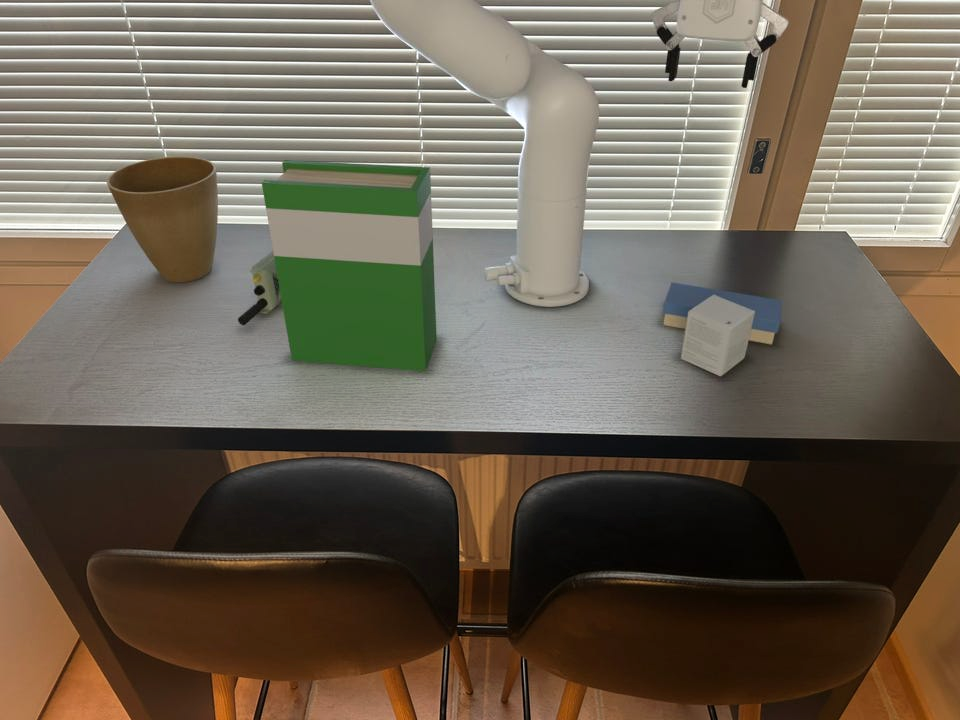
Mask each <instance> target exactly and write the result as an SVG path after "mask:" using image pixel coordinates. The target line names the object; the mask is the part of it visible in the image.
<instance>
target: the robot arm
mask: <svg viewBox="0 0 960 720" xmlns="http://www.w3.org/2000/svg"><path fill="white" fill-rule="evenodd" d="M369 1H370V4H371V6H372V8H373V10H374V12H375V14H376V15H377V18H379V19H380V21H381V22H382V24H383V25H384V26H385V27H386V28H387V29H388V30H389V31H390V32H391V33H392V34H393V35H394V36H395V37H397V39H399V40H401V42H403V43H405V45H407V46H408V47H410V48H412V49H413V50H414V51H415V52H418V54H420V55H421V56H423V57H424V58H425V59H426V60H428V61H429V62H430V63H431V64H433V65H435V66H436V67H437V68H439V69H440V70H442V71H443V72H445V73H447V74H448V75H449V76H450V77H452V79H454V80H455V81H456V82H457V83H458V84H459V85H461V86H462V87H463V88H464V89H465V90H467V91H468V92H470V93H472V95H473V94H474V95H476V96H477V97H480V98H484V99H486V100H487V101H489V102H490V103H491V104H493V105H495V106H496V107H498V108H499V109H501V110H502V111H504V112H505V113H507V115H509V116H510V117H512V118H513V119H514V120H516V121H517V123H519V124H520V126H522V127H523V128H524V140H523V145H522V149H521V153H520V156H519V163H518V173H517V209H516V210H517V211H516V212H517V213H516V214H517V216H516V219H517V220H516V243H515V244H516V246H515V248H516V249H515V254H514V255H510V256H509V262H506V263H504V264H503V265H501V266H490V267H485V268H483V277H484V280H485V282H489V281H497V284H498V286H499V287H504V288H505V291H506V293H508V295H510V296H511V297H512V298H513V299H515V300H517V301H519V302H521V303H524V304H528V305H531V306H537V307H545V308H554V307H555V308H556V307H563V306H564V307H565V306H568V305H573V304H575V303H577V302H579V301H581V300H582V299H583V298H585V296H587V295H588V292H589V291H590V290H589V289H590V280H589V278H588V276H587V275H586V273H584V272H583V271H582V270H581V263H582V261H581V260H582V250H583V239H584V226H585V214H586V203H587V202H586V201H587V191H588V189H587V187H588V177H589V176H588V175H589V167H590V161H591V154H592V149H593V145H594V141H595V137H596V135H597V134H596V133H597V130H598V127H599V126H598V125H599V121H600V120H599V119H600V104H599V99H598V96H597V93H596V91H595V89H594V88H593V85H591V83H590V82H589V81H588V80H587V78H586V77H584V76H583V75H582V74H580V73H579V72H578V71H576V70H574V69H573V68H572V67H570V66H568V65H567V64H565V63H562V62H561V61H560V60H558V59H556V58H555V57H553V56H552V55H550V54H549V53H548V52H546V51H544V50H543V49H541V48H540V47H538V46H537V45H536V44H535V43H534V42H532V41H531V40H530V39H528V38H527V37H526V36H524V35H523V34H522V33H521V32H520V31H519V30H518V29H517V28H516V27H515V26H514V25H513V24H512V23H510V22H509V21H508V20H506V19H505V18H503V17H502V16H500V15H498V14H496V13H495V12H494V11H492V10H490V9H487V8H485V7H484V6H482V5H481V4H479V3H478V2H477V1H475V0H369ZM676 13H677V17H676V32H674V34H673V33H672V31H671V30H670V29H669V27H668V26H667V24H666V21H665V18H666V17H669V16H671V15H673V14H676ZM650 17H651V20H652V23H653V26H654V29H655V31H656V35H657V36H658V38H659V39H660V40H661V42H662V43H663V44H664V46H665V48H666V50H667V54H666V60H665V70H664V73H665V74H668V80H667V81H668V82H674V81H675V80H676V78H677V77H678V69H679V63H680V55H681V47H680V43H681V42H682V41H683V40H684V39H685V38H688V39H697V40H708V41H723V42H736V43H737V42H740V43H741V42H744V44H745V45H746V47H747V49H748V50H749V52H748V53H747V55H746V58H745V59H746V60H745V65H744V70H743V75H742V81H741V87H742V89H747V88H748V85H749V84H748V83H749V81H751V82H752V81H753V82H754V81H755V76H756V73H757V72H756V71H757V67H758V61H759V57H760V56H761V55H762V54H763V53H764V52H766V51H767V50H769V49H770V48H771V47H772V46H774V44H776V42H777V41H778V39H779V38H780V37H781V36H782V34H783V33H784V32H785V31H786V29H787V28H788V26H789V19H788V18H786V17H785V16H784V15H783V14H781V13H779V12H778V11H776V10H775V9H774V8H772V7H770V6H769V5H767V4H766V3H764V0H674V1H672V2H670V3H667V4H666V5H664V6H661V7H659V8H657V9H655V10H653V12H652V13H651V15H650ZM761 18H763V19H764V20H766V21H767V22H769V23H770V24H772V25H773V28H772V29H771V31H770V32H769V34H767V35H766V36H765V37H763V38H762V39H759V37H758V35H757V32H758V28H759V25H760V20H761Z"/></svg>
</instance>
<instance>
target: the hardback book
mask: <svg viewBox="0 0 960 720" xmlns="http://www.w3.org/2000/svg"><path fill="white" fill-rule="evenodd" d="M281 163H282V164H281V165H282V171H283V173H282V174H281V175H280V176H279V177H278V178H277V179H276V180H271V179H264V180H263V181H262V182H261V187H262V193H263V199H264V205H265V211H266V218H267V221H268V228H269V234H270V240H271V246H272V251H273V253H274V258H275V264H276V270H277V276H278V282H279V288H280V294H281V299H282V301H281V305H282V311H283V316H284V323H285V328H286V334H287V339H288V346H289V352H290V359H291V361H295V362H296V361H297V362H307V363H317V364H318V363H321V364H333V365H344V366H354V367H355V366H357V367H369V368H380V369H393V370H404V371H415V372H427V369H428V366H429V363H430V361H431V357H432V354H433V352H434V349H435V346H436V343H437V339H438V338H437V337H438V336H437V314H436V313H437V312H436V289H435V263H434V261H435V260H434V259H435V258H434V236H433V210H432V209H433V208H432V182H431V179H432V178H431V167H428V166H410V165H409V166H408V165H390V164H369V163H351V162H334V161H333V162H332V161H331V162H329V161H311V160H309V161H308V160H295V159H293V160H292V159H285V160H283V161H282V162H281Z"/></svg>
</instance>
